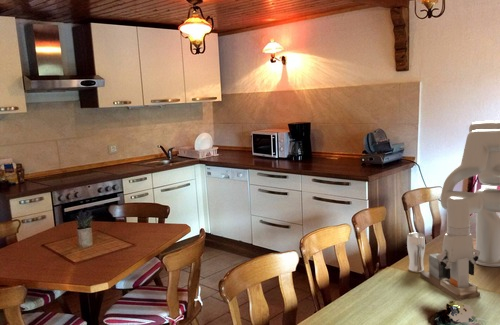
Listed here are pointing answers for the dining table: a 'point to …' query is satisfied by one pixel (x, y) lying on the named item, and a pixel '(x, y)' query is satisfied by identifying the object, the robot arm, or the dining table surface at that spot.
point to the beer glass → (416, 251)
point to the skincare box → (459, 273)
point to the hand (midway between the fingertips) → (458, 275)
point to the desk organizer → (447, 281)
